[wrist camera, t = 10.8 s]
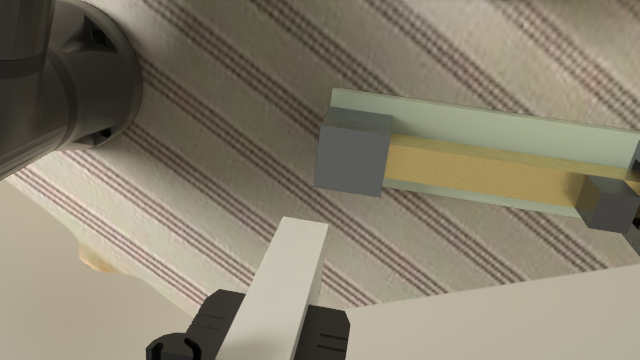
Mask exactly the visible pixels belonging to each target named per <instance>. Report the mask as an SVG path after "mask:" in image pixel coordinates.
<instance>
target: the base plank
mask: <svg viewBox="0 0 640 360" xmlns="http://www.w3.org/2000/svg"><path fill="white" fill-rule="evenodd" d="M330 106H332V107H339V108H346V109H352V110H359V111H366V112H373V113H379V114H386V115H393V118H392V131H391V133H394V134H400V135H407V136H414V137H420V138H427V139H434V140H440V141H447V142H453V143H460V144H467V145H473V146H480V147H486V148H493V149H500V150H506V151H513V152H519V153H526V154H533V155H539V156H546V157H553V158H559V159H566V160H572V161H579V162H586V163H592V164H599V165H605V166H612V167H619V168H625V169H628V167H629V165H630V162H631V159H632V157H633V154H634V152H635V149H636V146H637V144H638V141H639V140H640V131H635V130H628V129H621V128H614V127H607V126H600V125H594V124H587V123H580V122H573V121H566V120H559V119H552V118H545V117H538V116H531V115H524V114H517V113H510V112H503V111H496V110H490V109H483V108H476V107H469V106H462V105H455V104H448V103H441V102H434V101H427V100H420V99H413V98H406V97H399V96H392V95H386V94H379V93H372V92H365V91H358V90H351V89H344V88H337V87H334V88H333V89H332V96H331V104H330ZM382 186H383V187H389V188H395V189H401V190H407V191H414V192H420V193H426V194H432V195H438V196H445V197H451V198H457V199H463V200H469V201H476V202H482V203H488V204H494V205H500V206H507V207H513V208H519V209H525V210H531V211H538V212H544V213H550V214H556V215H562V216H569V217H575V218H581V216H580V215H579V214H578V212H577V211H576V209H575V208H572V207H566V206H560V205H554V204H547V203H541V202H535V201H529V200H522V199H516V198H510V197H504V196H497V195H491V194H485V193H478V192H472V191H466V190H460V189H453V188H447V187H441V186H435V185H428V184H422V183H416V182H410V181H403V180H397V179H391V178H384V179H383V185H382ZM581 219H582V218H581Z"/></svg>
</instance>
